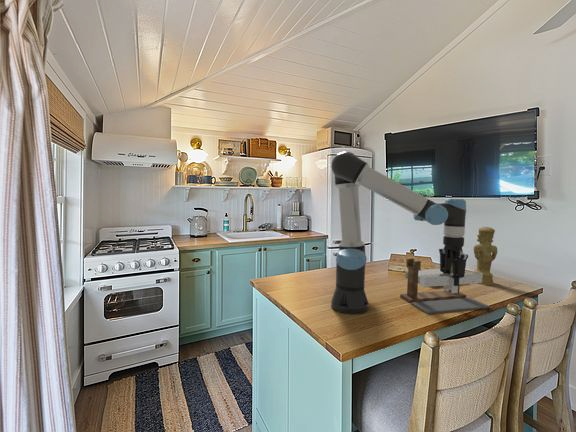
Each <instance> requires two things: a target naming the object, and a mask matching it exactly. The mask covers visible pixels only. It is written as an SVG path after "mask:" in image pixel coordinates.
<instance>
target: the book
mask: <svg viewBox="0 0 576 432" xmlns="http://www.w3.org/2000/svg"><path fill="white" fill-rule="evenodd" d="M431 274H443V272H441V271H440V268H433V269H432V268H431V269H422V270H421V269H420V270H418V284H420V275H431ZM404 277H405V278H406V279H408V271H406V272H404ZM432 287H433V286H431V287H430V288H432Z"/></svg>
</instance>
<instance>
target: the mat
mask: <svg viewBox="0 0 576 432" xmlns="http://www.w3.org/2000/svg"><path fill="white" fill-rule="evenodd" d="M410 305H411V306H413V307H415V308H416V309H418V310H419V311H422V312H423V313H425V314H426V315H431V314H442V313H451V312H463V311H473V310H483V309H490V308H491V307H490V305H487V304H486V303H483V302H481V301H479V300H476V299H475V298H472V297H466V298H460V299H448V300H436V301H425V302H413V303H410Z"/></svg>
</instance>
